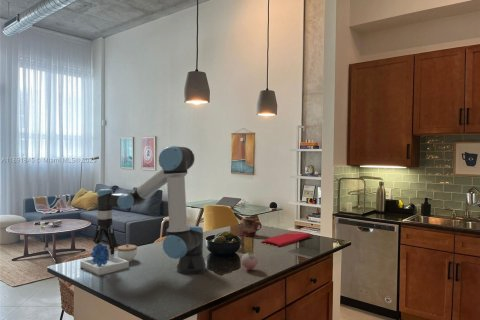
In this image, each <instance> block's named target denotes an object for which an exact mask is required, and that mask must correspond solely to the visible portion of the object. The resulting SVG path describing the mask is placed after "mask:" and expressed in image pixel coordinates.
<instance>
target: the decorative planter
mask: <svg viewBox="0 0 480 320" xmlns="http://www.w3.org/2000/svg"><path fill="white" fill-rule="evenodd" d="M239 225H240V227H241V230H242V232H241V233H242V234H241V235H242V236H243V235H246V236H245V237H247V236H251V237H254V236H253V235H255V236H256V234H257V232H258V231H260V230H261V229H262V223H261V221H260V220H259V221H258V218H257V217H255V216H243V217H242V218H241V220H240V224H239Z"/></svg>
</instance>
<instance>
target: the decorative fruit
mask: <svg viewBox="0 0 480 320" xmlns="http://www.w3.org/2000/svg"><path fill="white" fill-rule="evenodd" d="M240 261H241V265H242V266H243V267H244V268H245V269H247V270H249V271H251V270H253V269H254V268H256V267H257V265H258V261H259V258H258V257H257V256H256V255H255V254H254V253H252V252H251V251H247V252H246V253H244V254H243V255H242V257H241V260H240Z"/></svg>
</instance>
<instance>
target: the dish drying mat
mask: <svg viewBox="0 0 480 320" xmlns="http://www.w3.org/2000/svg"><path fill="white" fill-rule="evenodd" d="M311 236H312V234H311V233H309V232H304V231H290V232H288V233H283V234H279V235H277V236H273V237H268V238H266V239H265V240H262V241H261V242H260V243H261V244H262V243H266V244H265V245H267V244H270V245H269V246H271V245H274V246H273V247H275V246H278V247H277V248H279V246H280V247H284V246H286V244H287V245H289V244H293V242H294V243H297V242H299V241H302V240H305V239H308V238H309V237H311ZM283 245H284V246H283Z"/></svg>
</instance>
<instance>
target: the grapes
mask: <svg viewBox="0 0 480 320" xmlns="http://www.w3.org/2000/svg"><path fill="white" fill-rule="evenodd" d="M90 257H91V258H93V263H97V265H98V266H101V265H102V264H103V265H106V264H107V260H109V248H108V245H107V244H102V242H101V243H99V244H98V245H97V246H96V245H94V246H93V247H92V252H91V253H90Z"/></svg>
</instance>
